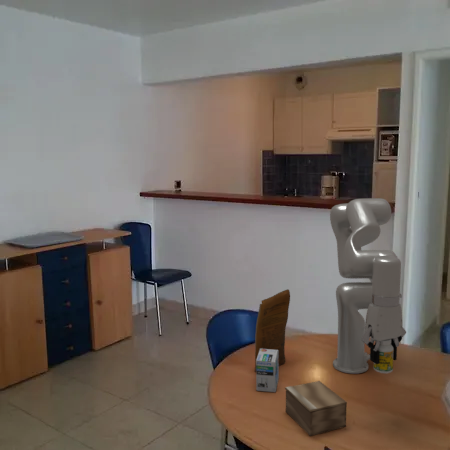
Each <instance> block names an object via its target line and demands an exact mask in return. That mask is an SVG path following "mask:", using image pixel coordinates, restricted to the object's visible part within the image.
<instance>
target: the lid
mask: <svg viewBox="0 0 450 450" xmlns="http://www.w3.org/2000/svg"><path fill="white" fill-rule="evenodd" d="M284 389H285V391H286V390H287V391H288V392H289V393H290V394H291V395H292V396H293V397H294V398H295V399H296V400H298V401H299V402H300V403H301V404H302V405H303V406H304V407H305V408H306V409H307V410H309V411H310V412H312V411H316V410H321V409H325V408H330V407H334V406H339V405H343V404H348V402H347V401H346V400H345V399H344V398H342V396H340V395H339V394H337V393H336V392H334V390H332V388H329V387H328V386H327V385H326V384H325V383H323V382H322V381H320V380H318V381H311V382H306V383H302V384H297V385H289V386H286V387H284Z"/></svg>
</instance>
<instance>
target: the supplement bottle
mask: <svg viewBox="0 0 450 450" xmlns="http://www.w3.org/2000/svg"><path fill="white" fill-rule="evenodd" d="M378 351H379V352H380V354H379V364H375V363H374V362H373V370H374V371H375V372H378V373H380V374H390V373H392V372H393V370H394V360H393V351H394V349H393V346H392V345H391V339H388V340H383V341H380V344H379V347H378Z"/></svg>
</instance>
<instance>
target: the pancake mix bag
mask: <svg viewBox="0 0 450 450" xmlns="http://www.w3.org/2000/svg"><path fill="white" fill-rule="evenodd" d="M290 303H291V292H290V289H284V290H282V291H280V292H278V293H276V294H274V295H273V296H270V297H267V298H264V299H263V300H261V303H259V308H258V311H257V318H256V324H255V336H254V339H255V340H254V341H255V342H254V345H255V346H254V347H255V348H254V350H255V351H254V363H255V365H254V366H255V367H254V372H255V373H256V359H257V356H258V353H259V350H260V348H261V349H272V350H279V366H281V365H284V364H285V363H286V355H285V345H286V327H287V323H288V318H289V309H290Z"/></svg>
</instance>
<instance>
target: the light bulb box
mask: <svg viewBox="0 0 450 450" xmlns="http://www.w3.org/2000/svg"><path fill="white" fill-rule="evenodd" d="M279 368H280V365H279V350H272V349H261V348H260V350H259V353H258V356H257V359H256V372H255V375H256V376H255V377H256V378H255V379H256V381H255V382H256V384H255V387H256V388H255V389H256V392H257V391H258V392H269V393H276V392H277V389H278V388H277V387H278V384H279V379H280V378H279V377H280V376H279V373H280V372H279Z"/></svg>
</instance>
